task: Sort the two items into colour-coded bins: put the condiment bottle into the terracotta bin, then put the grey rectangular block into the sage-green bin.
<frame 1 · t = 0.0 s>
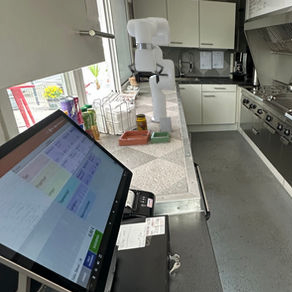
hand: (147, 83, 123), 33 cm above the counter, tool pointing down, fingers open, 9 cm apart
grey rectangular block: (166, 132, 153), on the counter
terracotta bin: (136, 140, 137), on the counter
green bin: (160, 140, 139), on the counter
condiment: (142, 133, 150), on the counter
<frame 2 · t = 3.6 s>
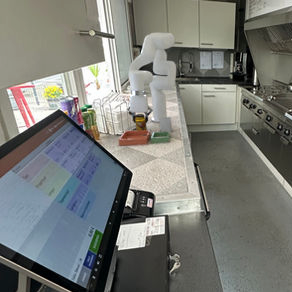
hand: (140, 122, 147), 7 cm above the counter, tool pointing down, fingers closed on condiment, 6 cm apart
condiment: (141, 133, 150), on the counter, touching gripper
everything else where it was.
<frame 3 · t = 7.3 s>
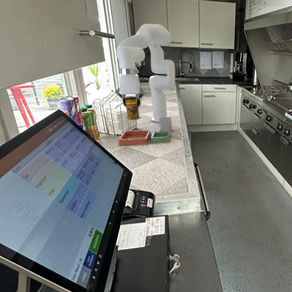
hand: (132, 105, 130), 20 cm above the counter, tool pointing down, fingers closed on condiment, 6 cm apart
condiment: (132, 118, 133), point 13 cm above the counter, touching gripper
everything else where it was.
when the fingers open (8 cm above the counter, at t = 11.0 s): condiment stays where it is, resting on terracotta bin.
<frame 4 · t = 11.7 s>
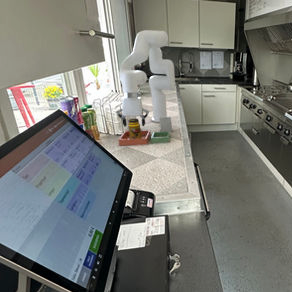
hand: (134, 125, 134), 9 cm above the counter, tool pointing down, fingers open, 9 cm apart
condiment: (135, 139, 137), resting on terracotta bin
everything else where it was.
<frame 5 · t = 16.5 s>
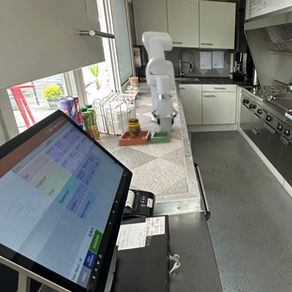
hand: (165, 124, 151), 5 cm above the counter, tool pointing down, fingers closed on grey rectangular block, 7 cm apart
grey rectangular block: (166, 132, 153), on the counter, touching gripper
everything else where it was.
when the fingers open (6 cm above the counter, at t = 23.4 s): grey rectangular block stays where it is, resting on green bin.
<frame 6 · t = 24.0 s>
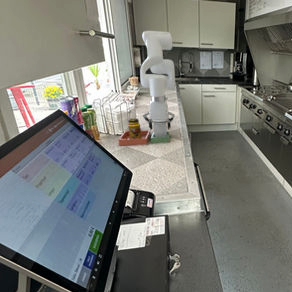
hand: (160, 128, 137), 7 cm above the counter, tool pointing down, fingers open, 9 cm apart
grey rectangular block: (161, 139, 139), resting on green bin
everything else where it was.
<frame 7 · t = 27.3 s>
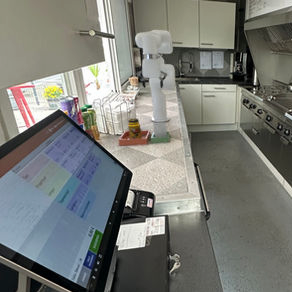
hand: (153, 87, 142), 28 cm above the counter, tool pointing down, fingers open, 9 cm apart
nothing on the counter moved.
at the end: condiment inside the target area in the terracotta bin (0.5 cm from its centre), point 0.4 cm above the terracotta bin's base; condiment tilted 2°; grey rectangular block 0.1 cm off-centre in the green bin, point 0.4 cm above the green bin's base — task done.
